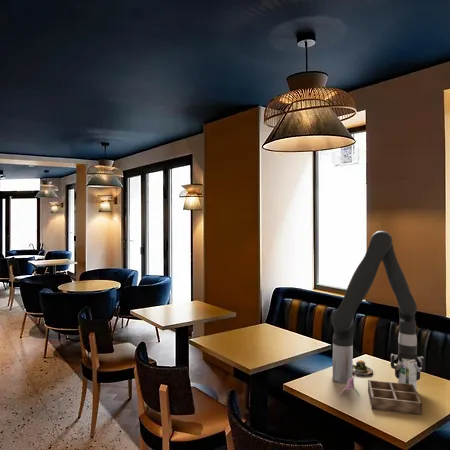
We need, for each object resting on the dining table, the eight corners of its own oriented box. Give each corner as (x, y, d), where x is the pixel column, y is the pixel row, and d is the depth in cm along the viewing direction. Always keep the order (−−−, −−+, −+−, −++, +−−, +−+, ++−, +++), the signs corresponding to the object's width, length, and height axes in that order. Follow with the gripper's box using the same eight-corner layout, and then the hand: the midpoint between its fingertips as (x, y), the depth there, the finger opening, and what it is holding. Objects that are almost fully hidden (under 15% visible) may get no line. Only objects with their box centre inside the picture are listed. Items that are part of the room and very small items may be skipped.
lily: (353, 389, 180) (342, 370, 181) (374, 388, 171) (362, 368, 172) (339, 405, 173) (328, 385, 174) (360, 404, 164) (348, 383, 165)
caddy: (371, 409, 159) (371, 397, 159) (368, 390, 177) (368, 379, 177) (421, 415, 154) (421, 403, 154) (412, 395, 172) (412, 384, 172)
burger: (343, 372, 199) (343, 358, 198) (354, 366, 207) (354, 352, 207) (366, 379, 190) (366, 364, 190) (377, 372, 198) (377, 358, 198)
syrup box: (397, 388, 180) (397, 356, 180) (407, 386, 182) (407, 354, 182) (407, 393, 174) (407, 360, 174) (417, 391, 176) (417, 358, 176)
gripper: (391, 343, 176) (391, 380, 176) (426, 346, 172) (426, 383, 172) (389, 339, 183) (389, 374, 183) (423, 341, 180) (423, 377, 180)
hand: (407, 378), depth 178 cm, fingers closed on syrup box, 7 cm apart
